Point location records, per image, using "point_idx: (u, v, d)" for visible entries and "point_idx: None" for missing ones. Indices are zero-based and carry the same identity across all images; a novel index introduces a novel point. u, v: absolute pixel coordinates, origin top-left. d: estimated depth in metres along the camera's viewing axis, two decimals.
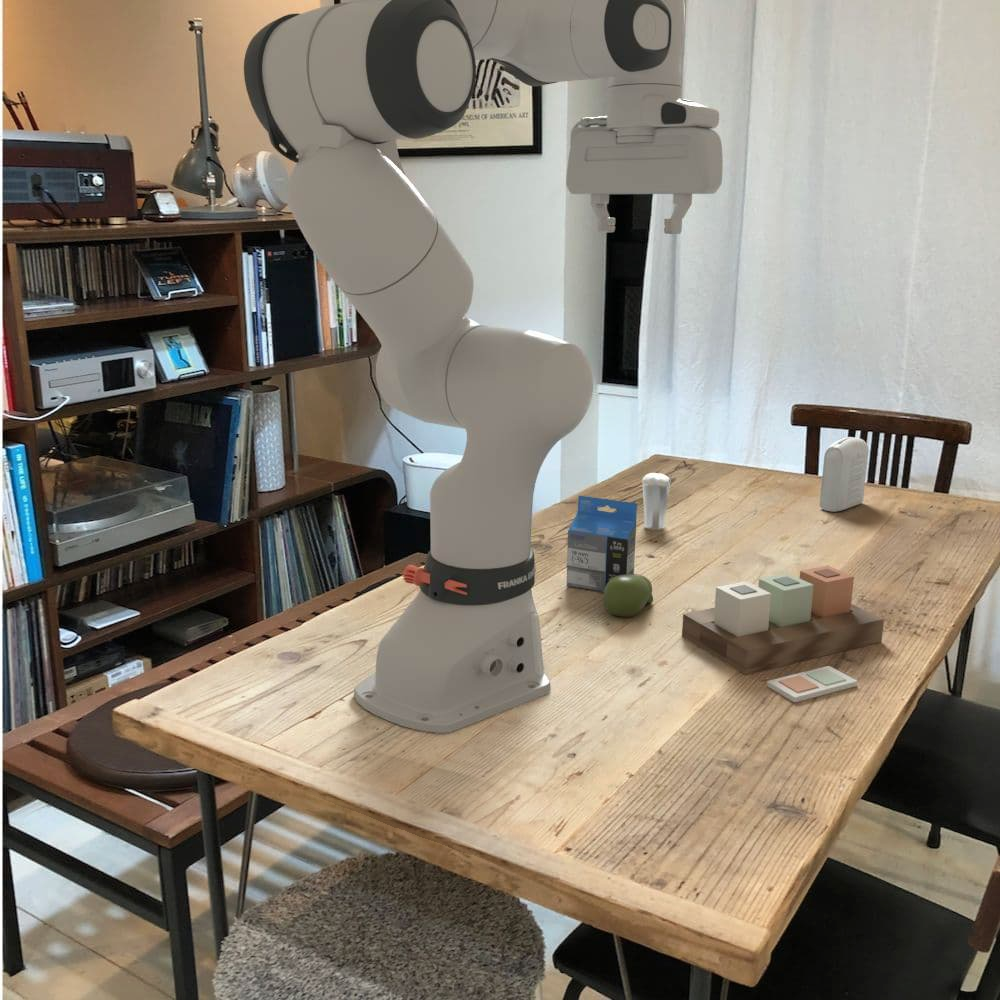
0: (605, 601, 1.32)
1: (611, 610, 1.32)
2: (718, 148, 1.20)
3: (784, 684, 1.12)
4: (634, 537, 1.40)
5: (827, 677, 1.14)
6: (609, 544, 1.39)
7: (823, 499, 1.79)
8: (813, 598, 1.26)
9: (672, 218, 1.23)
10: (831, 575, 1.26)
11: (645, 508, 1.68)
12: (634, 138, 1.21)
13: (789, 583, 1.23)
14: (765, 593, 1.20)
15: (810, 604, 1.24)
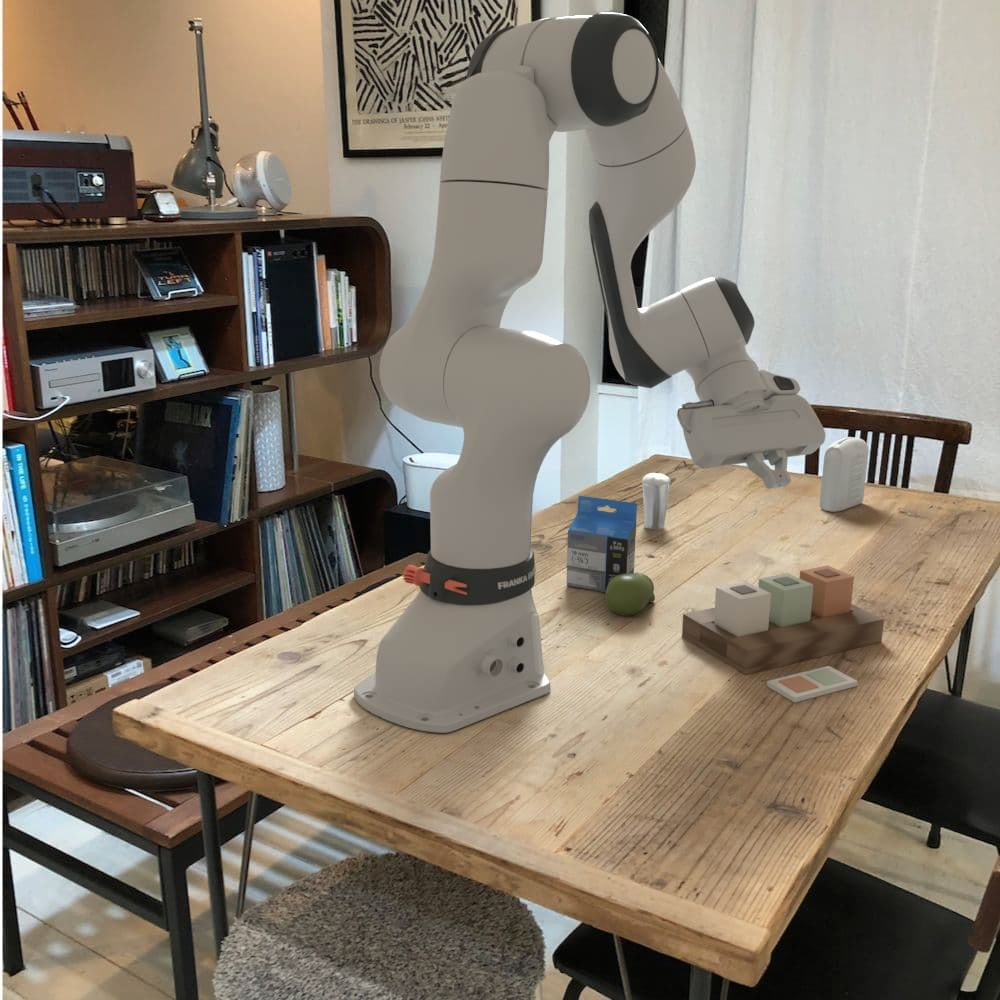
0: (607, 600, 1.33)
1: (613, 609, 1.32)
2: None
3: (784, 684, 1.12)
4: (634, 537, 1.40)
5: (827, 677, 1.14)
6: (609, 544, 1.39)
7: (823, 499, 1.79)
8: (813, 598, 1.26)
9: (784, 468, 1.33)
10: (831, 575, 1.26)
11: (645, 508, 1.68)
12: (761, 402, 1.35)
13: (789, 583, 1.23)
14: (765, 593, 1.20)
15: (810, 604, 1.24)
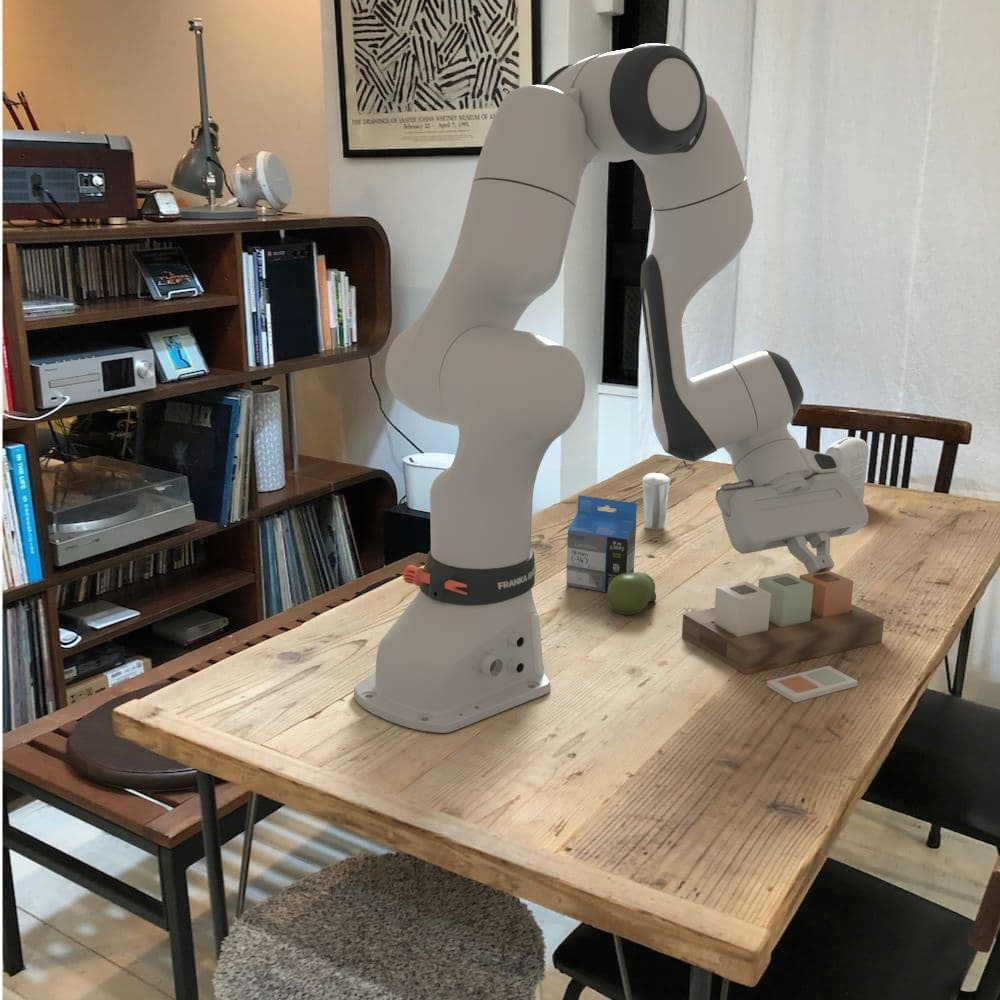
0: (609, 599, 1.33)
1: (615, 608, 1.33)
2: None
3: (784, 684, 1.12)
4: (634, 537, 1.40)
5: (827, 677, 1.14)
6: (609, 544, 1.39)
7: None
8: (813, 602, 1.26)
9: (827, 553, 1.28)
10: (831, 580, 1.26)
11: (645, 508, 1.68)
12: (802, 482, 1.30)
13: (789, 583, 1.23)
14: (765, 593, 1.20)
15: (810, 604, 1.24)
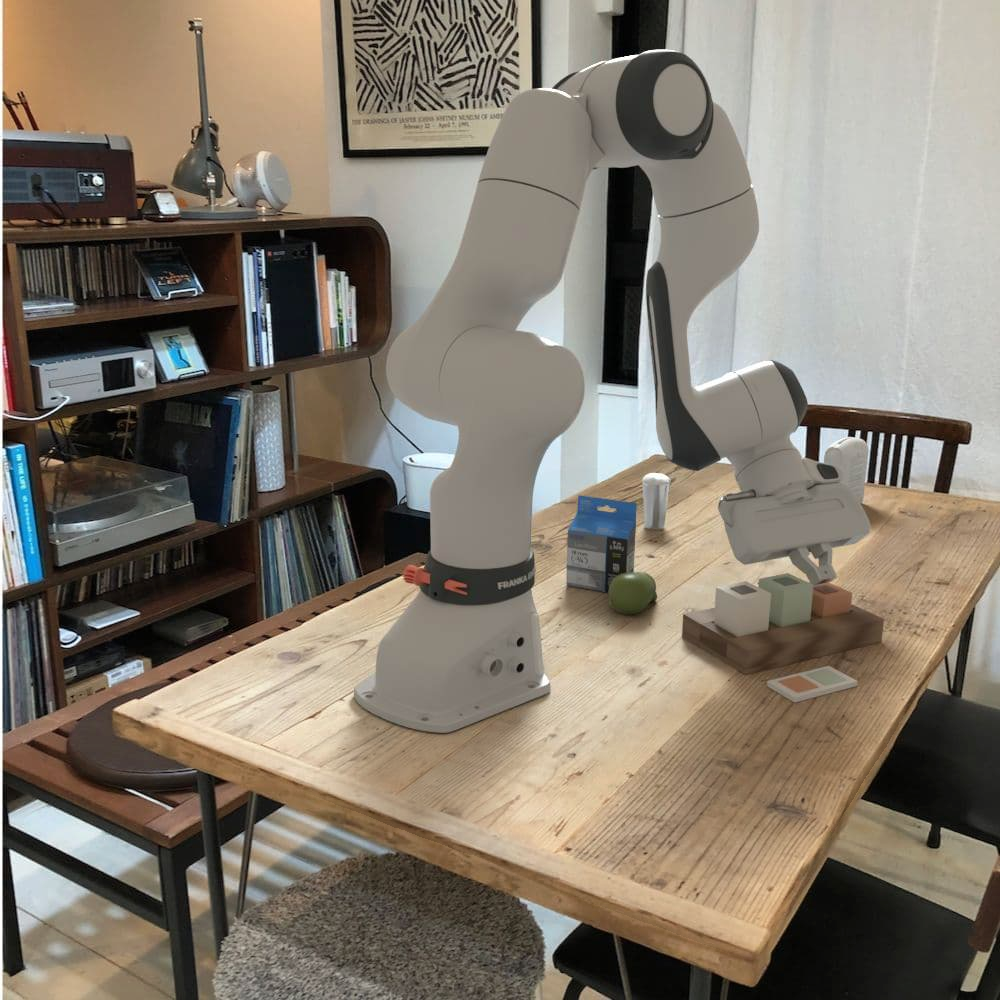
0: (610, 599, 1.33)
1: (616, 607, 1.33)
2: None
3: (784, 684, 1.12)
4: (634, 537, 1.40)
5: (827, 677, 1.14)
6: (608, 544, 1.39)
7: None
8: None
9: (829, 564, 1.28)
10: (829, 591, 1.26)
11: (645, 508, 1.68)
12: (804, 493, 1.30)
13: (789, 583, 1.23)
14: (765, 593, 1.20)
15: (810, 604, 1.24)
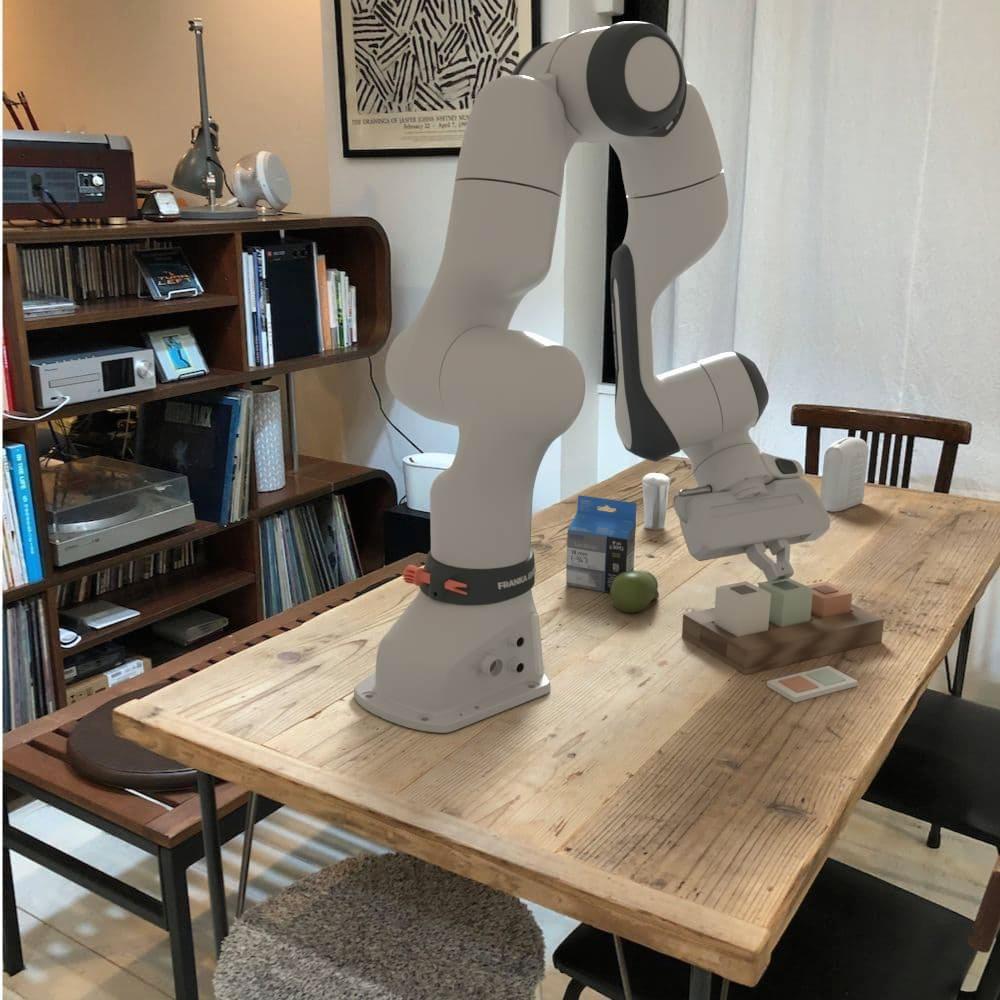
0: (612, 597, 1.34)
1: (618, 606, 1.33)
2: None
3: (784, 684, 1.12)
4: (633, 537, 1.40)
5: (827, 677, 1.14)
6: (608, 544, 1.39)
7: (823, 499, 1.79)
8: None
9: (786, 560, 1.25)
10: (829, 591, 1.26)
11: (645, 508, 1.68)
12: (762, 488, 1.27)
13: (789, 587, 1.23)
14: (765, 593, 1.20)
15: (810, 608, 1.24)
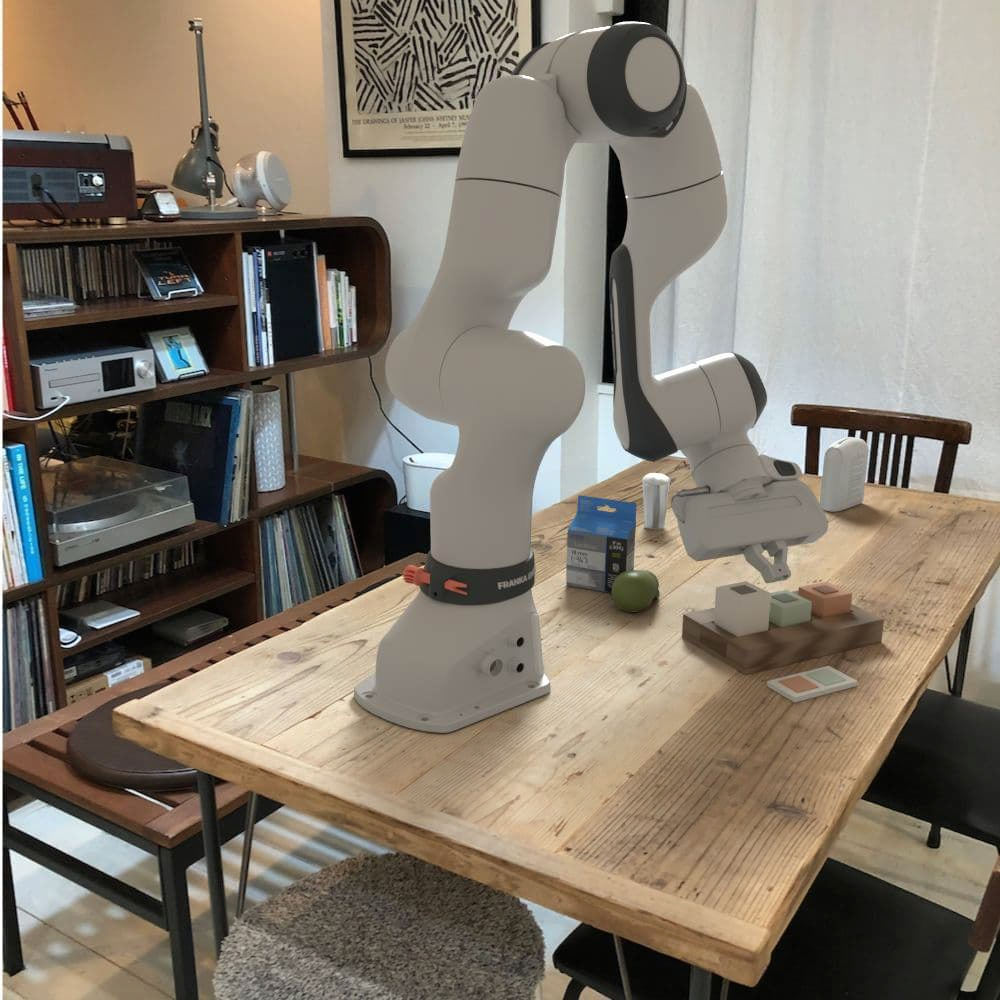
0: (613, 596, 1.34)
1: (619, 605, 1.33)
2: None
3: (784, 684, 1.12)
4: (634, 537, 1.40)
5: (827, 677, 1.14)
6: (608, 544, 1.39)
7: (823, 499, 1.79)
8: None
9: (784, 562, 1.25)
10: (829, 591, 1.26)
11: (645, 508, 1.68)
12: (760, 489, 1.27)
13: (788, 600, 1.24)
14: (765, 593, 1.20)
15: None
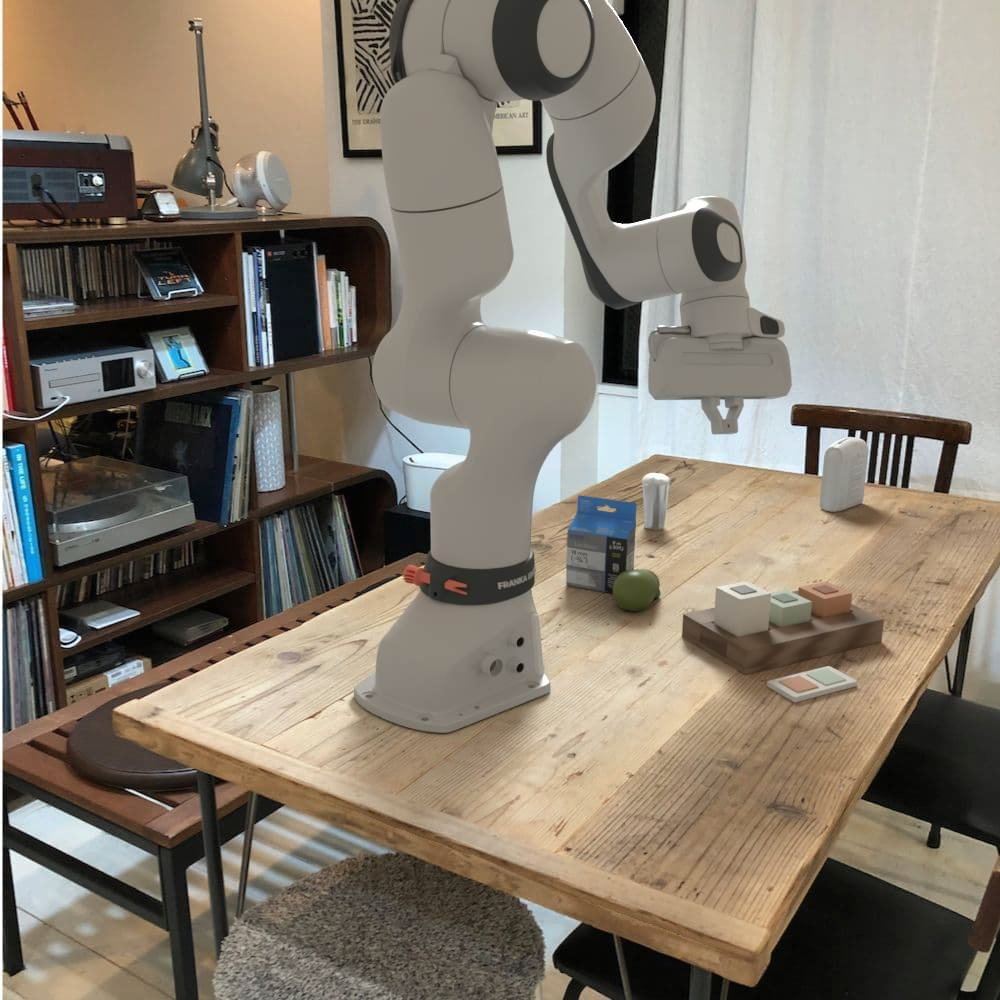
0: (614, 596, 1.34)
1: (621, 604, 1.34)
2: None
3: (784, 684, 1.12)
4: (633, 537, 1.40)
5: (827, 677, 1.14)
6: (608, 544, 1.39)
7: (823, 499, 1.79)
8: None
9: (735, 418, 1.31)
10: (829, 591, 1.26)
11: (645, 508, 1.68)
12: (737, 344, 1.30)
13: (788, 600, 1.24)
14: (765, 593, 1.20)
15: None
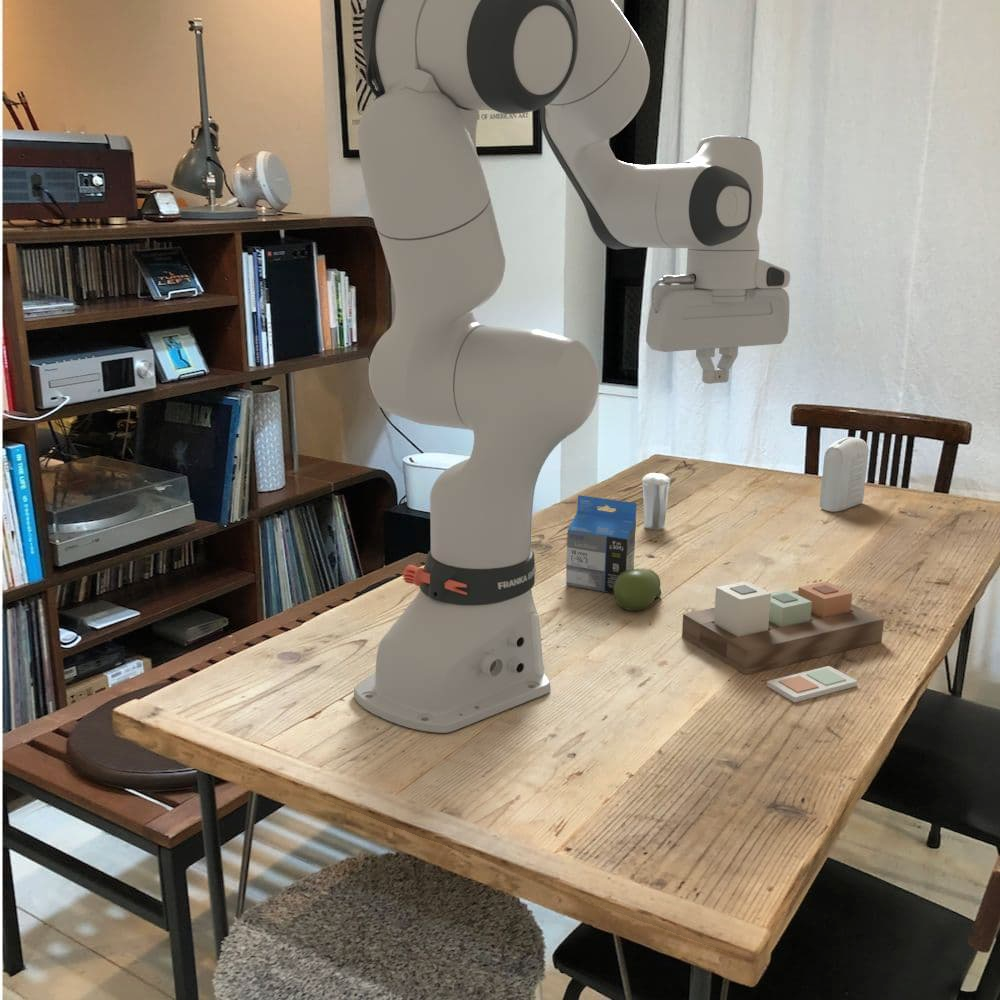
0: (616, 595, 1.34)
1: (622, 604, 1.34)
2: None
3: (784, 684, 1.12)
4: (633, 537, 1.40)
5: (827, 677, 1.14)
6: (608, 544, 1.39)
7: (823, 499, 1.79)
8: None
9: (727, 369, 1.32)
10: (829, 591, 1.26)
11: (645, 508, 1.68)
12: (740, 298, 1.28)
13: (788, 600, 1.24)
14: (765, 593, 1.20)
15: None
